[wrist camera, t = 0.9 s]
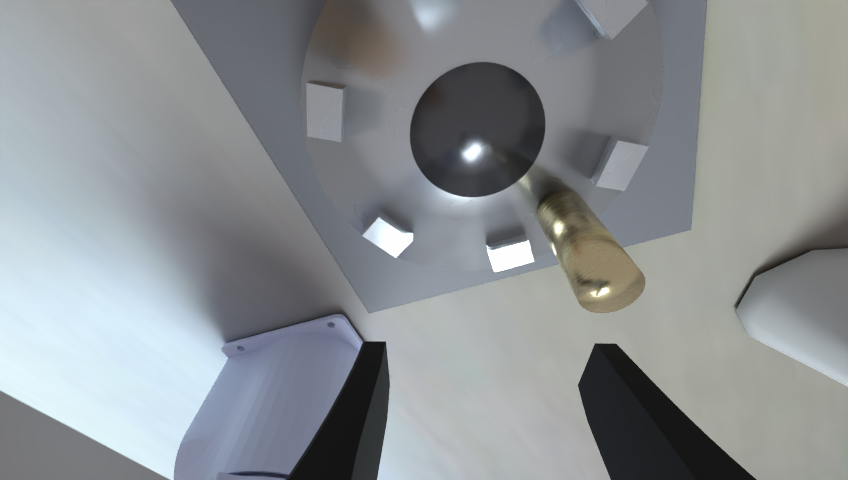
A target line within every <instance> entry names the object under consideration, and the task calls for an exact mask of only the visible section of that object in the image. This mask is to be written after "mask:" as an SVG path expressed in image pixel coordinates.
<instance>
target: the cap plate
mask: <svg viewBox="0 0 848 480" xmlns="http://www.w3.org/2000/svg"><path fill="white" fill-rule="evenodd" d="M326 1H327V0H171V2H172V3H173V5H174V6H175V8H176V10H177V11H178V13H179V14H180V16H181V17H182V19H183V21H184V22H185V24H186V25H187V27H188V29H189V30H190V32H191V33H192V35H193V36H194V38H195V40H196V41H197V43H198V44H199V46H200V47H201V49H202V51H203V52H204V54H205V55H206V57H207V59H208V60H209V62H210V63H211V65H212V66H213V68H214V70H215V71H216V73H217V74H218V76H219V77H220V79H221V81H222V82H223V84H224V85H225V87H226V89H227V90H228V92H229V93H230V95H231V96H232V98H233V100H234V101H235V103H236V104H237V106H238V107H239V109H240V111H241V112H242V114H243V115H244V117H245V119H246V120H247V122H248V123H249V125H250V126H251V128H252V130H253V131H254V133H255V134H256V136H257V137H258V139H259V141H260V142H261V144H262V145H263V147H264V149H265V150H266V152H267V153H268V155H269V156H270V158H271V160H272V161H273V163H274V164H275V166H276V167H277V169H278V171H279V172H280V174H281V175H282V177H283V179H284V180H285V182H286V183H287V185H288V186H289V188H290V190H291V191H292V193H293V194H294V196H295V197H296V199H297V201H298V202H299V204H300V205H301V207H302V209H303V210H304V212H305V213H306V215H307V216H308V218H309V220H310V221H311V223H312V224H313V226H314V227H315V229H316V231H317V232H318V234H319V235H320V237H321V239H322V240H323V242H324V243H325V245H326V246H327V248H328V250H329V251H330V253H331V254H332V256H333V257H334V259H335V261H336V262H337V264H338V265H339V267H340V269H341V270H342V272H343V273H344V275H345V276H346V278H347V280H348V281H349V283H350V284H351V286H352V287H353V289H354V291H355V292H356V294H357V295H358V297H359V299H360V300H361V302H362V303H363V305H364V306H365V308H366V310H367V311H368V313H373V312H377V311H381V310H384V309H388V308H392V307H396V306H400V305H404V304H408V303H411V302H415V301H419V300H423V299H427V298H431V297H434V296H438V295H442V294H446V293H450V292H454V291H457V290H461V289H465V288H469V287H473V286H477V285H480V284H484V283H488V282H492V281H496V280H500V279H504V278H507V277H511V276H515V275H519V274H523V273H527V272H530V271H534V270H538V269H542V268H546V267H550V266H553V265H557V264H559V262H558V260H557V258H556V256H555V254H554V252H553V250H551V251H550V252H548V253H545V254H543V255H541V256H538V257H536V258H534V259H533V260H534V262H531V263H527V264H523V265H520V266H516V267H512V268H508V269H505V270H501V271H497V272H494V270H484V271H449V270H440V269H435V268H430V267H425V266H422V265H419V264H415V263H412V262H409V261H406V260H404V259H402V258H399V257H396V258H395V257H394V256H392V255H391V254H389V253H388V252H386V251H385V250H383V249H382V248H380V247H378V246H377V245H375V244H374V243H372V242H371V241H369V240H368V239H366V238H365V237H363V236H362V234H360V233H359V232H358V231H357V230H356V229H355V228H354V227H353V226H352V225H351V224H350V223H349V222H348V221H347V220H346V219H345V218H344V217H343V216H342V214H341V213H340V212H339V211H338V210H337V209H336V207H335V206H334V205H333V203H332V202H331V200H330V199H329V197H328V195H327V194H326V192H325V191H324V189H323V187H322V185H321V183H320V181H319V179H318V177H317V175H316V173H315V171H314V168H313V166H312V163H311V160H310V157H309V154H308V151H307V147H306V143H305V138H304V133H303V129H302V118H301V106H300V101H301V79H302V73H303V67H304V62H305V56H306V52H307V48H308V45H309V42H310V39H311V36H312V33H313V29H314V27H315V24H316V22H317V20H318V18H319V16H320V14H321V12H322V10H323V7H324V5H325V3H326ZM650 1H651V4H652V6H653V9H654V12H655V14H656V17H657V21H658V26H659V31H660V36H661V41H662V50H663V68H664V73H663V85H662V97H661V102H660V106H659V111H658V116H657V121H656V124H655V127H654V130H653V133H652V136H651V138H650V141H649V144H648V146H649V148H648V149H647V151H646V153H645V155H644V157H643V159H642V160H641V162H640V164H639V166H638V168H637V169H636V171H635V173H634V175H633V177H632V179H631V180H630V182H629V184H628V186H627V188H626V190H625V191H621V192H620V194H619V195H618V196H617V198H616V199H615V200H614V201H613V203H612V204H611V205H610V206H609V207H608V208H607V209H606V210H605V211H604V212H603V213H602V214H601V215H600V216H599V217H598V218H599V219H600V221H601V222H602V223H603V224H604V226H605V227H606V228H607V229H608V231H609V232H610V233H611V234H612V236H613V237H614V238H615V239H616V241H617V242H618V243H619V244H620V246H621V247H622V248H623V247H626V246H630V245H634V244H638V243H642V242H646V241H650V240H653V239H657V238H661V237H665V236H669V235H673V234H676V233H680V232H684V231H688V230H691V224H692V210H693V196H694V181H695V167H696V152H697V138H698V123H699V109H700V94H701V80H702V65H703V51H704V36H705V22H706V8H707V0H650Z"/></svg>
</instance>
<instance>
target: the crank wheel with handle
mask: <svg viewBox="0 0 848 480" xmlns="http://www.w3.org/2000/svg"><path fill="white" fill-rule="evenodd" d="M663 73H664V68H663V50H662V41H661V36H660V31H659V26H658V21H657V17H656V14H655V12H654V9H653V6H652V4H651V1H650V0H327V1H326V3H325V5H324V7H323V10H322V12H321V14H320V16H319V18H318V20H317V22H316V24H315V27H314V29H313V33H312V36H311V39H310V42H309V45H308V48H307V52H306V56H305V62H304V67H303V73H302V79H301V101H300V106H301V118H302V129H303V133H304V138H305V143H306V147H307V151H308V154H309V157H310V160H311V163H312V166H313V168H314V171H315V173H316V175H317V177H318V179H319V181H320V183H321V185H322V187H323V189H324V191H325V192H326V194H327V195H328V197H329V199H330V200H331V202H332V203H333V205H334V206H335V207H336V209H337V210H338V211H339V212H340V213H341V214H342V216H343V217H344V218H345V219H346V220H347V221H348V222H349V223H350V224H351V225H352V226H353V227H354V228H355V229H356V230H357V231H358V232H359V233H360V234H362V236H363V237H365V238H366V239H368V240H369V241H371V242H372V243H374V244H375V245H377V246H378V247H380V248H382V249H383V250H385V251H386V252H388V253H389V254H391V255H392V256H394V257H395V258H396V257H399V258H402V259H404V260H406V261H409V262H412V263H415V264H419V265H422V266H425V267H430V268H435V269H440V270H449V271H484V270H494V272H497V271H501V270H505V269H508V268H512V267H516V266H520V265H523V264H527V263H531V262H534V260H533V259H534V258H536V257H538V256H541V255H543V254H545V253H548V252H550V251H551V250H553V252H554V254H555V256H556V258H557V260H558V262H559V264H560V266H561V268H562V270H563V272H564V274H565V276H566V278H567V280H568V282H569V284H570V286H571V288H572V290H573V292H574V294H575V296H576V298H577V300H578V302H579V304H580V305H581V306H582V307H583V308H585V309H586V310H588V311H591V312H595V313H609V312H614V311H617V310H620V309H623V308H625V307H627V306H628V305H630V304H631V303H633V302H634V301H635V300H636V299H637V298H638V297H639V296H640V295H641V293H642V292H643V290H644V287H645V277H644V275H643V273H642V272H641V271H640V269H639V268H638V267H637V266H636V264H635V263H634V262H633V261H632V259H631V258H630V257H629V256H628V254H627V253H626V252H625V251H624V249H623V248H622V247H621V246H620V244H619V243H618V242H617V241H616V239H615V238H614V237H613V236H612V234H611V233H610V232H609V231H608V229H607V228H606V227H605V226H604V224H603V223H602V222H601V221H600V219H599V218H598V217H599V216H600V215H601V214H602V213H603V212H604V211H605V210H606V209H607V208H608V207H609V206H610V205H611V204H612V203H613V201H614V200H615V199H616V198H617V196H618V195H619V194H620V192H621V191H625V190H626V188H627V186H628V184H629V182H630V180H631V179H632V177H633V175H634V173H635V171H636V169H637V168H638V166H639V164H640V162H641V160H642V159H643V157H644V155H645V153H646V151H647V149H648V148H649V146H648V144H649V141H650V138H651V136H652V133H653V130H654V127H655V124H656V121H657V116H658V111H659V106H660V102H661V97H662V85H663Z"/></svg>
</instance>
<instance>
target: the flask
mask: <svg viewBox="0 0 848 480" xmlns="http://www.w3.org/2000/svg"><path fill="white" fill-rule="evenodd" d="M735 312H736V314H737V316H738V318H739V320H740V322H741V323H742V325H743V327H744V329H745V331H746V333H747V335H749V336H751V337H752V338H754V339H756V340H758V341H760V342H762V343H764V344H766V345H768V346H770V347H772V348H774V349H776V350H778V351H780V352H782V353H784V354H786V355H788V356H790V357H792V358H794V359H796V360H798V361H800V362H802V363H804V364H806V365H808V366H810V367H812V368H814V369H815V370H817V371H819V372H821V373H823V374H825V375H827V376H829V377H830V378H832V379H834V380H836V381H838V382H840V383H842V384H844V385H845V386H847V387H848V248H844V249H826V250H812V251H810V252H808V253H806V254H803V255H801V256H799V257H797V258H795V259H792V260H790V261H788V262H786V263H784V264H782V265H779V266H777V267H775V268H773V269H771V270H768V271H766V272H764V273H762V274H760V275H757V276H755V278H754V280H753V281H752V283H751V285H750V287H749V288H748V290H747V292H746V294H745V295H744V297H743V299H742V300H741V302H740V304H739V306H738V307H737V309H736V311H735Z"/></svg>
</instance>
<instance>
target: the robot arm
mask: <svg viewBox="0 0 848 480" xmlns="http://www.w3.org/2000/svg"><path fill="white" fill-rule="evenodd" d="M330 322H332V323H330ZM222 352H223V353H224V354H225V355H226V356H227V357H228V360H227V362H226V364H225V365H224V367H223V369H222V371H221V372H220V374H219V376H218V378H217V379H216V381H215V383H214V385H213V386H212V388H211V390H210V392H209V393H208V395H207V397H206V399H205V400H204V402H203V404H202V406H201V407H200V409H199V411H198V413H197V414H196V416H195V418H194V420H193V421H192V423H191V425H190V427H189V428H188V430H187V432H186V434H185V435H184V438H183V440H182V442H181V444H180V447H179V450H178V453H177V457H176V461H175V469H174V480H377V476H378V470H379V464H380V458H381V452H382V446H383V440H384V434H385V428H386V422H387V413H388V401H389V387H390V381H389V370H388V360H387V349H386V342H366V341H365V342H364V343H363V341H362V340H361V339H360V337H359V336H358V334H357V333H356V331H355V330H354V328H353V327H352V326H351V324H350V323H349V321H348V320H347V318H346V317H345V316H344V315H342V314H334V315H330V316H327V317H323V318H319V319H315V320H312V321H308V322H304V323H300V324H297V325H293V326H289V327H285V328H281V329H278V330H274V331H270V332H266V333H263V334H259V335H255V336H251V337H248V338H244V339H240V340H236V341H233V342H229V343H226V344H224V346H223V347H222ZM578 387H579V391H580V395H581V399H582V403H583V406H584V410H585V413H586V417H587V420H588V423H589V426H590V428H591V431H592V433H593V436H594V438H595V441H596V443H597V446H598V449H599V451H600V454H601V456H602V459H603V461H604V464H605V466H606V468H607V471H608V473H609V476H610V478H611V480H756V479H755V478H754V477H753V476H752V475H750V474H749V473H748V472H747V471H746V470H745V469H744V468H742V467H741V466H740V465H739V464H738V463H737V462H736V461H734V460H733V459H732V458H731V457H730V456H729V455H728V454H727V453H726V452H725V451H723V450H722V449H721V448H720V447H719V446H718V445H717V444H716V443H715V442H714V441H713V440H711V439H710V438H709V437H708V436H707V435H706V434H705V433H704V432H703V431H702V430H701V429H700V428H699V427H698V426H697V425H696V424H694V423H693V422H692V421H691V420H690V419H689V418H688V417H687V416H686V415H685V414H684V413H683V412H682V411H681V410H680V409H679V408H678V407H677V406H676V405H675V404H674V403H673V402H672V401H671V400H670V399H669V398H668V397H667V396H666V395H665V394H664V393H663V392H662V391H661V390H660V389H659V388H658V387H657V386H656V385H655V384H654V383H653V382H652V381H651V379H650V378H649V377H648V376H647V375H646V374H645V373H644V372H643V371H642V370H641V369H640V368H639V367H638V366H637V365H636V364H635V363H634V362H633V361H632V360H631V359H630V358H629V357H628V356H627V355H626V353H625V352H624V351H623V350H622V349H621V348H620V347H619V346H618V345H617V344H595V345H594V348H593V350H592V352H591V355H590V357H589V360H588V362H587V365H586V367H585V370H584V372H583V374H582V377H581V379H580V382H579V384H578Z"/></svg>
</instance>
